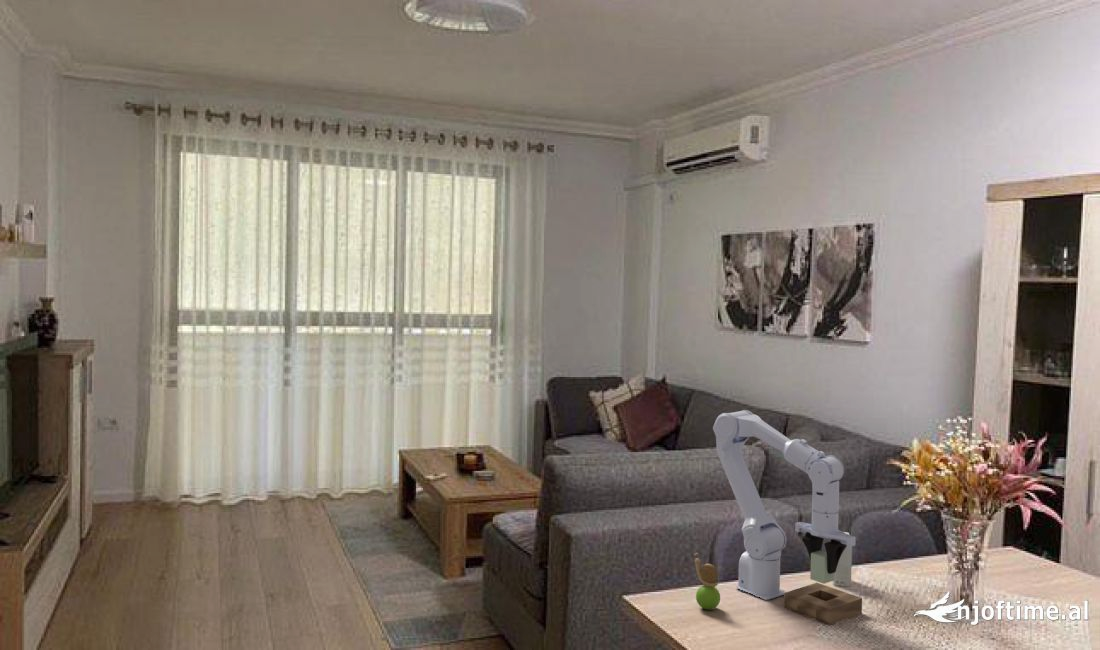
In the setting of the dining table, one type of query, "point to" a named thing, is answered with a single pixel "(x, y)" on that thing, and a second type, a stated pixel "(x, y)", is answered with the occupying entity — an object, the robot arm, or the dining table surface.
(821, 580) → the sage peg
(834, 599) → the walnut socket block
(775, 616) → the dining table surface
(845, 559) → the skincare box
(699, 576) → the snail figurine
